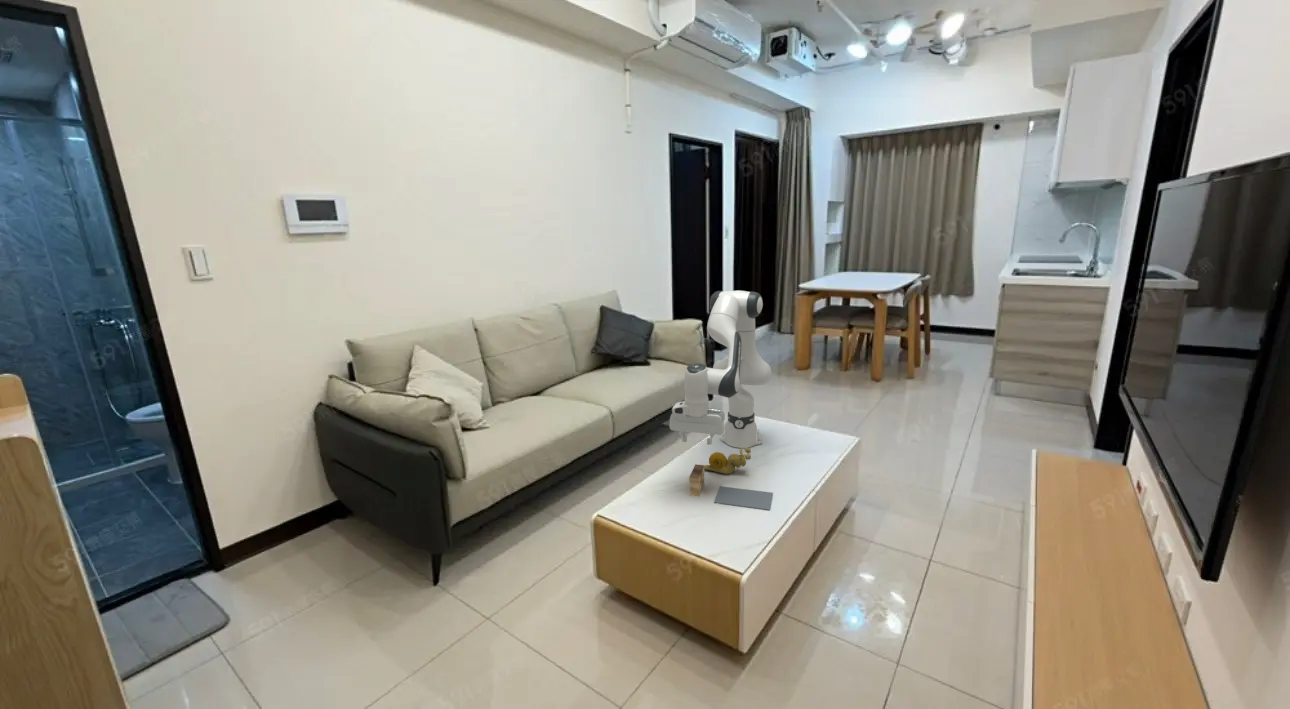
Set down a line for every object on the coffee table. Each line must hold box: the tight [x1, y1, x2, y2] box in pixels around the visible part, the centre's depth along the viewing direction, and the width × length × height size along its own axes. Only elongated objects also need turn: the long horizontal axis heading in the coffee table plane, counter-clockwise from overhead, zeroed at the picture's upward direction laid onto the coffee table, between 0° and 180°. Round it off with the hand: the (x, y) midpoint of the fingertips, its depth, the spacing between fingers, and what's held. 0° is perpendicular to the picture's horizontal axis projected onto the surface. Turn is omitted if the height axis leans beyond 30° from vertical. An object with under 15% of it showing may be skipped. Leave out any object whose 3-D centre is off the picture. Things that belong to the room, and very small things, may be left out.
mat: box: [713, 485, 774, 511], centre depth 195 cm, size 12×20×1 cm, turn 72°
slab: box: [689, 464, 705, 498], centre depth 202 cm, size 10×4×8 cm, turn 162°
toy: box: [704, 447, 752, 475], centre depth 214 cm, size 8×21×10 cm, turn 78°
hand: (696, 442), depth 197 cm, fingers open, 8 cm apart
